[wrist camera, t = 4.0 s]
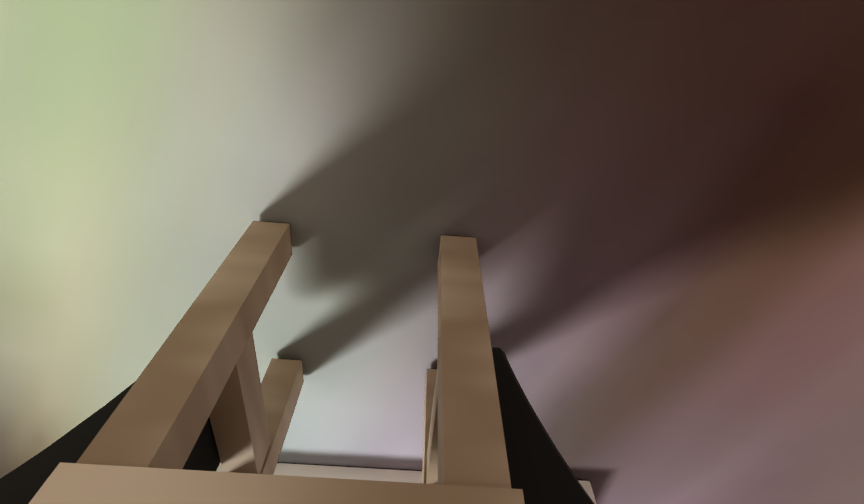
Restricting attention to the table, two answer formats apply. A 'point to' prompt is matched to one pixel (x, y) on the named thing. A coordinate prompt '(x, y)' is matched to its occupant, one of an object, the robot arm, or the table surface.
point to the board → (364, 474)
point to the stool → (287, 403)
